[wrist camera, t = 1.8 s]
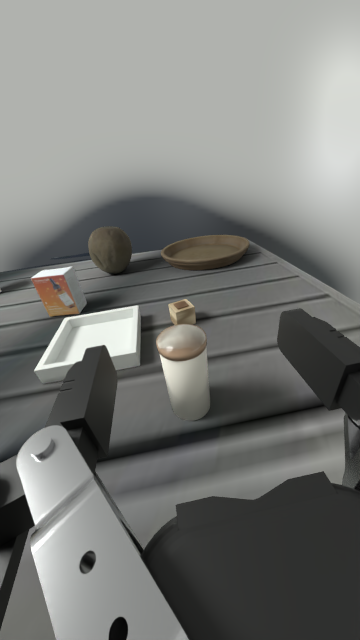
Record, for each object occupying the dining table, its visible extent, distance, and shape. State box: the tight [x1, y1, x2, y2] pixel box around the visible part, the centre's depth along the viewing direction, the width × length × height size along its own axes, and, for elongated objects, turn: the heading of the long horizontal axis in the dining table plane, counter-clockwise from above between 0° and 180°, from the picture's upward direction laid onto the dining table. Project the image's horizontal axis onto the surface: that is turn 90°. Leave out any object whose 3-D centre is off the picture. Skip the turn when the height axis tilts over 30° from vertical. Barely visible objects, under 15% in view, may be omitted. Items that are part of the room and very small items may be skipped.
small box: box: [31, 267, 87, 317], centre depth 55 cm, size 8×6×10 cm
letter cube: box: [168, 299, 196, 325], centre depth 46 cm, size 4×4×4 cm
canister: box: [156, 324, 210, 421], centre depth 27 cm, size 5×5×11 cm
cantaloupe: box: [88, 227, 132, 273], centre depth 75 cm, size 14×14×15 cm
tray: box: [34, 305, 141, 384], centre depth 43 cm, size 16×16×3 cm
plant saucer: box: [161, 235, 249, 270], centre depth 80 cm, size 31×31×5 cm
